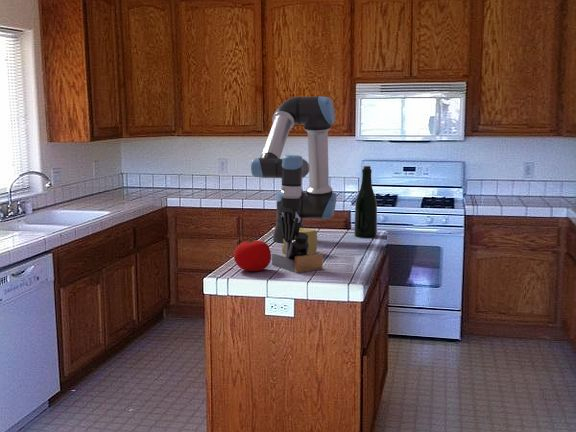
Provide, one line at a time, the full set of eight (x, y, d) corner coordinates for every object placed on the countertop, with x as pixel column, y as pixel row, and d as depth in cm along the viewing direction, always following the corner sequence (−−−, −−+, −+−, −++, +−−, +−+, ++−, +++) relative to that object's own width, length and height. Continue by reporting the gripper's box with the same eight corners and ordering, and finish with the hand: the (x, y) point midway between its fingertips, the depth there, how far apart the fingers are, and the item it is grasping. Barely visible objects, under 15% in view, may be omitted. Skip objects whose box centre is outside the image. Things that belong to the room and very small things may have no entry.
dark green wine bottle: (379, 237, 318) (381, 166, 313) (358, 238, 316) (359, 167, 311) (372, 233, 328) (373, 165, 323) (351, 234, 326) (352, 165, 321)
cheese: (281, 253, 281) (281, 229, 280) (299, 250, 289) (299, 226, 287) (300, 257, 274) (300, 232, 273) (318, 253, 282) (318, 229, 280)
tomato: (274, 273, 246) (274, 242, 244) (236, 275, 243) (235, 243, 241) (267, 266, 258) (267, 236, 256) (231, 267, 255) (231, 237, 253)
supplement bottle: (284, 257, 258) (290, 230, 252) (301, 256, 261) (307, 230, 255) (290, 267, 253) (296, 240, 247) (307, 267, 255) (313, 240, 249)
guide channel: (271, 264, 260) (271, 248, 260) (297, 261, 267) (297, 245, 266) (296, 273, 246) (296, 256, 245) (322, 269, 252) (322, 253, 251)
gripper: (273, 195, 259) (272, 256, 262) (291, 199, 248) (289, 262, 252) (290, 194, 263) (288, 254, 266) (308, 198, 252) (306, 261, 256)
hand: (289, 258), depth 259 cm, fingers closed
